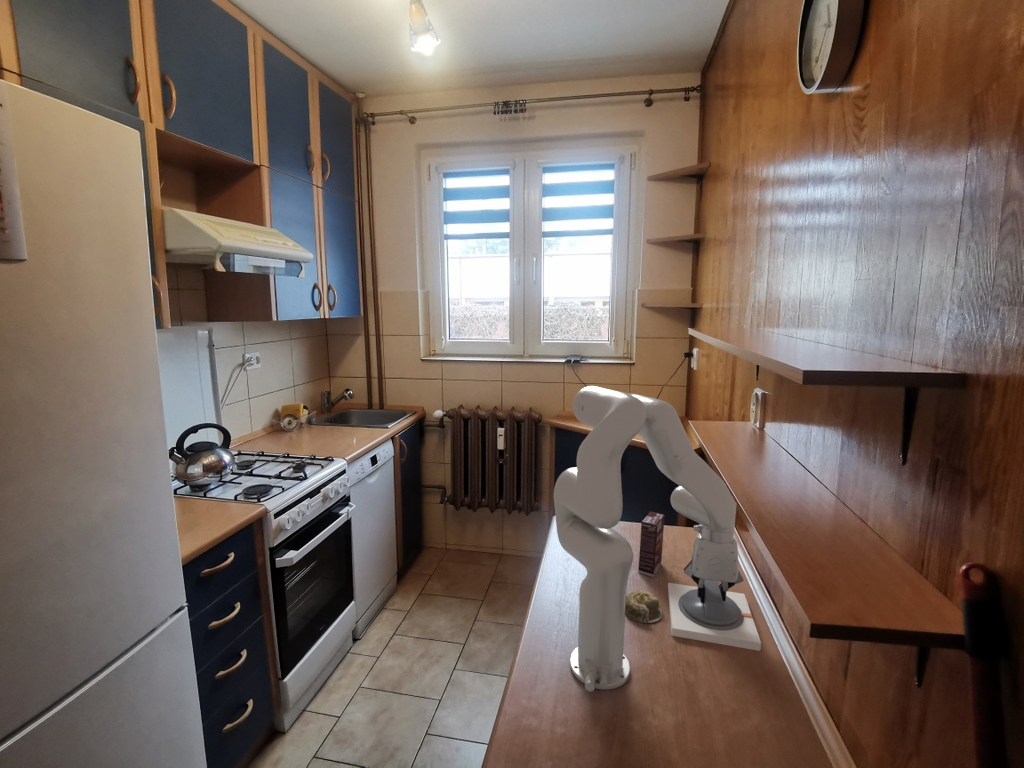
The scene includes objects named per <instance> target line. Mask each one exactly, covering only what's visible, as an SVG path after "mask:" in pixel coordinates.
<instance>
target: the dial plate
mask: <svg viewBox="0 0 1024 768" xmlns="http://www.w3.org/2000/svg"><path fill="white" fill-rule="evenodd" d="M694 589H698V586H692V585H688V584H687V585H686V584H680V583H673V582H668V583H667V594H668V595H667V596H668V607H669V619H670V620H669V621H670V633H671V636H673V637H677V638H684V639H689V640H695V641H701V642H707V643H713V644H719V645H724V646H730V647H733V648H734V647H735V648H741V649H747V650H753V651H757V652H758V651H759V652H761V647H762V642H761V638H760V635H759V633H758V629H757V627H756V624H755V621H754V619H753V615H752V611H751V610H750V606H749V603H748V601H747V598H746V595H745V593H740V592H735V591H729V590H728V591H727V592H726V596H727V597H729V598H731V599H732V600H733V601H734V602H735V603H736V604H737V606H738V607H739V611H740V613H739V619H738V621H737V622H736V623H735V624H733V625H730V626H713V625H708V624H705V623H702V622H700V621H698V620H696V619H694V618H693V617H691V616H690V615H689V614H688V613H687V612H686V611H685V609H684V607H683V596H684V594H685V593H687V592H688V591H690V590H694Z"/></svg>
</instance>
